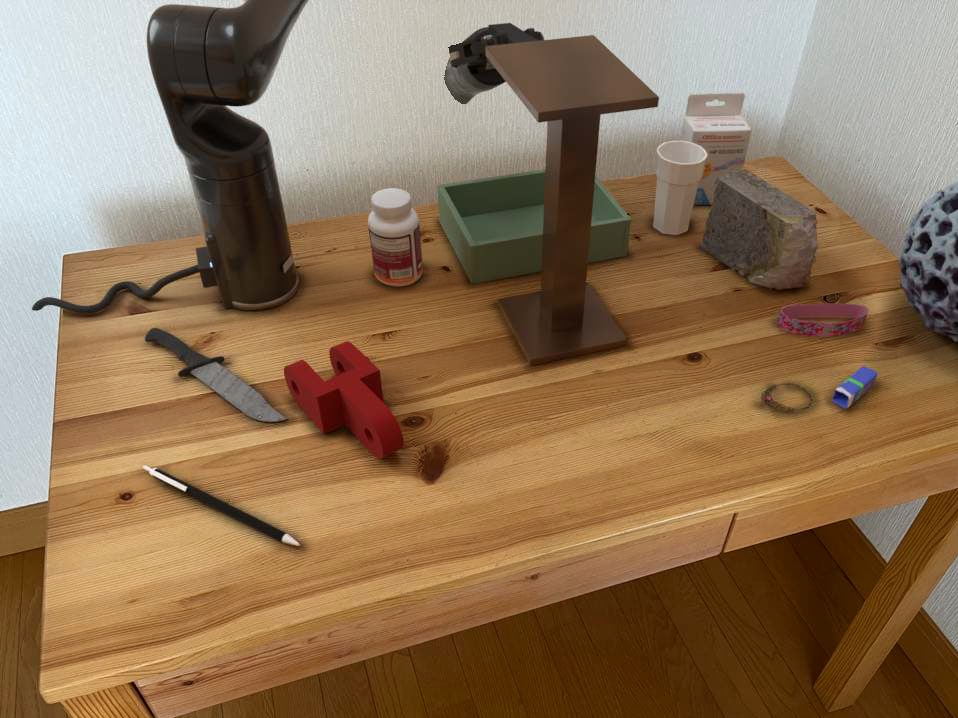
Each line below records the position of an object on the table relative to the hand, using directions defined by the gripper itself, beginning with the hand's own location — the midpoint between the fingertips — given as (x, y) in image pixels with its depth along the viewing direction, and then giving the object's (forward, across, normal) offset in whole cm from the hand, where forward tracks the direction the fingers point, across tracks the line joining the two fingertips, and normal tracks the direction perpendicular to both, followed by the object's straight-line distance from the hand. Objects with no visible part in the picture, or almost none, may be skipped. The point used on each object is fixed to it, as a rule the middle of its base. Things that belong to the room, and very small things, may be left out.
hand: (518, 38), depth 104 cm
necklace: (+27, +16, +44) cm, 54 cm away
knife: (+9, -45, +33) cm, 56 cm away
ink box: (-9, +28, +23) cm, 37 cm away
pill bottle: (-4, -19, +26) cm, 32 cm away
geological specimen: (+3, +24, +23) cm, 33 cm away
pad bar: (+2, 0, +3) cm, 4 cm away
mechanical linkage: (+18, -30, +38) cm, 51 cm away
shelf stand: (+8, -3, +33) cm, 34 cm away
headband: (+21, +28, +36) cm, 50 cm away
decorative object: (+26, +45, +42) cm, 68 cm away
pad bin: (-6, 0, +24) cm, 25 cm away
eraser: (+28, +23, +43) cm, 56 cm away
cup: (-4, +20, +26) cm, 33 cm away
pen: (+24, -43, +42) cm, 65 cm away
